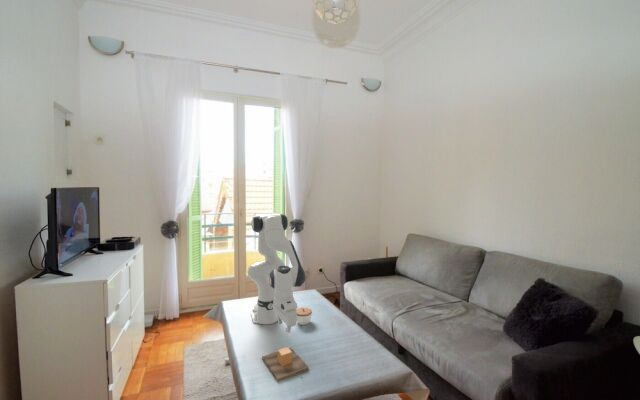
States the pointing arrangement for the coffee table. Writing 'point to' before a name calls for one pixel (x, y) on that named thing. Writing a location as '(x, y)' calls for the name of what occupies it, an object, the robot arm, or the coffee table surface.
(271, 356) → the post block
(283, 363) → the wooden toy cube
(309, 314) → the lidded jar
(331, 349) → the coffee table surface
